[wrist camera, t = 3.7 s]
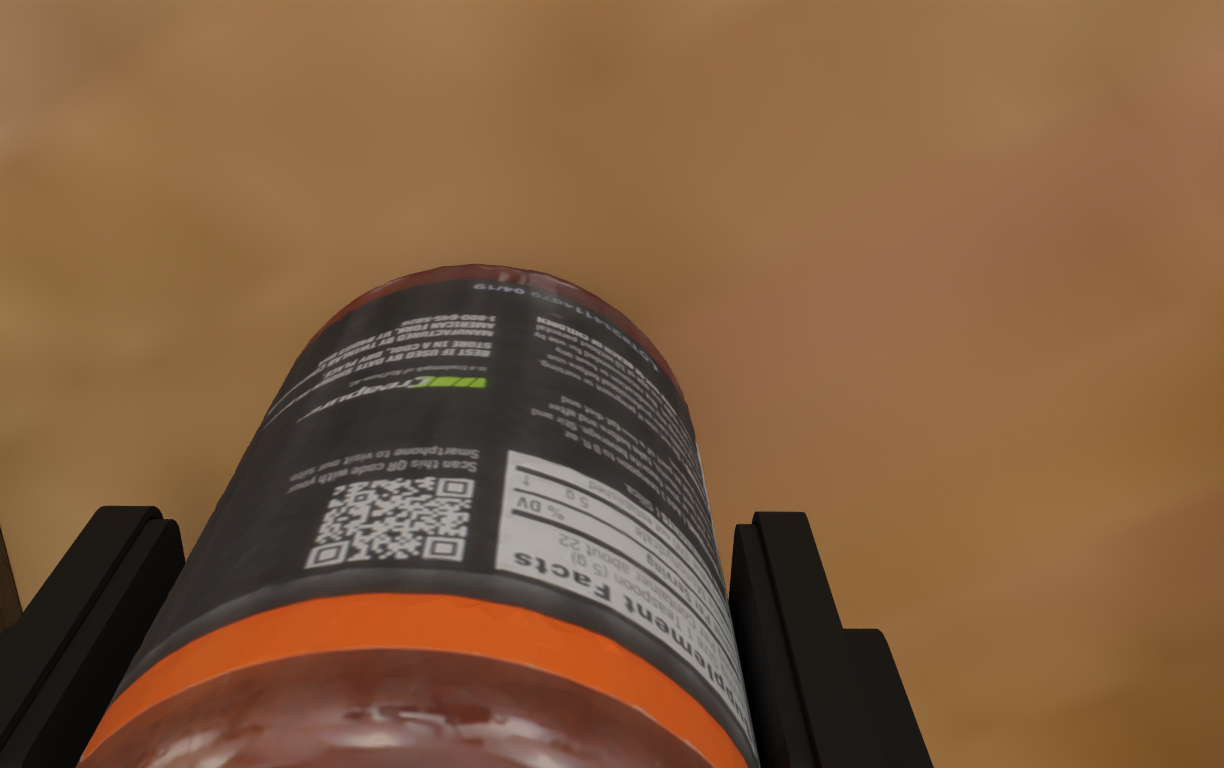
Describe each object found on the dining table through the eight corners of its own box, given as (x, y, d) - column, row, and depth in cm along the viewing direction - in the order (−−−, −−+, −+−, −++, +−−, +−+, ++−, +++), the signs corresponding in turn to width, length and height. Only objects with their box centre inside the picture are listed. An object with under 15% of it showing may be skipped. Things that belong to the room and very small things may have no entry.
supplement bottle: (449, 668, 18) (260, 1765, 8) (193, 391, 16) (-551, 1430, 5) (773, 492, 16) (1064, 1548, 6) (543, 160, 14) (423, 973, 4)
